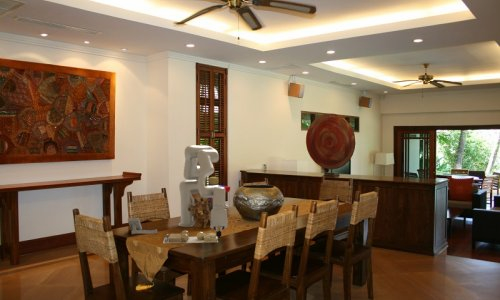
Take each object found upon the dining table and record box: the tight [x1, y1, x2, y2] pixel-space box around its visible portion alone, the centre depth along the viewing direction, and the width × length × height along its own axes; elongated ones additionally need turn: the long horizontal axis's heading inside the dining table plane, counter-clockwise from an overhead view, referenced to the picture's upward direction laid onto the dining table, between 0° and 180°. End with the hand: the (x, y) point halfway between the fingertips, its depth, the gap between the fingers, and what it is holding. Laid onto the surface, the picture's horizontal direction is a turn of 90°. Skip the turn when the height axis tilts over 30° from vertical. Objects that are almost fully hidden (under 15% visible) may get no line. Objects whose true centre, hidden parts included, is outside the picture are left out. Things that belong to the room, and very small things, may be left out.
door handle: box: [127, 217, 158, 236], centre depth 270 cm, size 18×8×20 cm
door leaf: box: [196, 231, 217, 243], centre depth 254 cm, size 12×11×4 cm
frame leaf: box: [168, 229, 190, 244], centre depth 251 cm, size 12×11×4 cm
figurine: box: [199, 176, 231, 215], centre depth 338 cm, size 22×22×30 cm
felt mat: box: [162, 236, 219, 244], centre depth 252 cm, size 15×32×1 cm, turn 97°
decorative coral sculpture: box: [188, 197, 213, 229], centre depth 297 cm, size 26×23×30 cm
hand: (218, 237), depth 255 cm, fingers closed
